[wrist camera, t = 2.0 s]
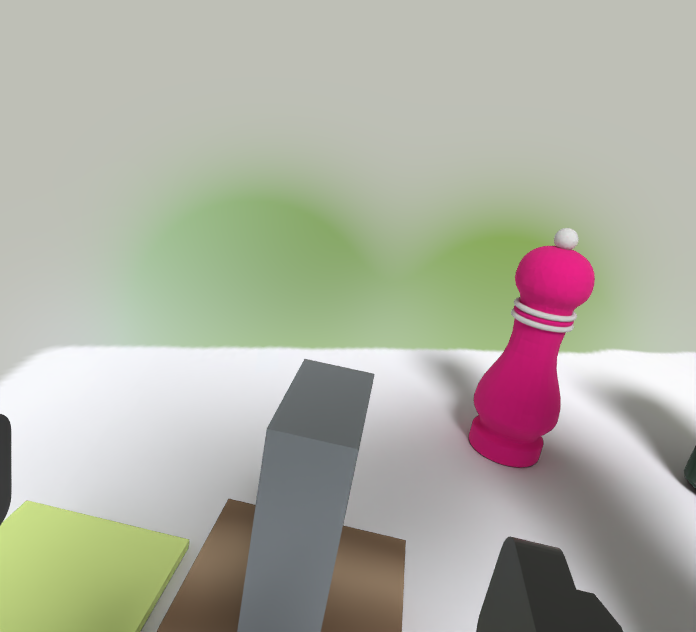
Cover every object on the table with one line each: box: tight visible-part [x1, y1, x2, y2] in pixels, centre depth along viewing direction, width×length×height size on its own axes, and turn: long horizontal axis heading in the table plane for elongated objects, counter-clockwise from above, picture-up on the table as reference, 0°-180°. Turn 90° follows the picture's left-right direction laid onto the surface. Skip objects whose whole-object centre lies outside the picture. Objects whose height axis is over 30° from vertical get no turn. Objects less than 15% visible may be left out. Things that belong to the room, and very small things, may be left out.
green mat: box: [0, 501, 189, 632], centre depth 26 cm, size 14×10×1 cm
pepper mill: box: [469, 228, 595, 468], centre depth 47 cm, size 7×7×20 cm
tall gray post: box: [237, 359, 374, 632], centre depth 22 cm, size 6×3×11 cm, turn 173°
